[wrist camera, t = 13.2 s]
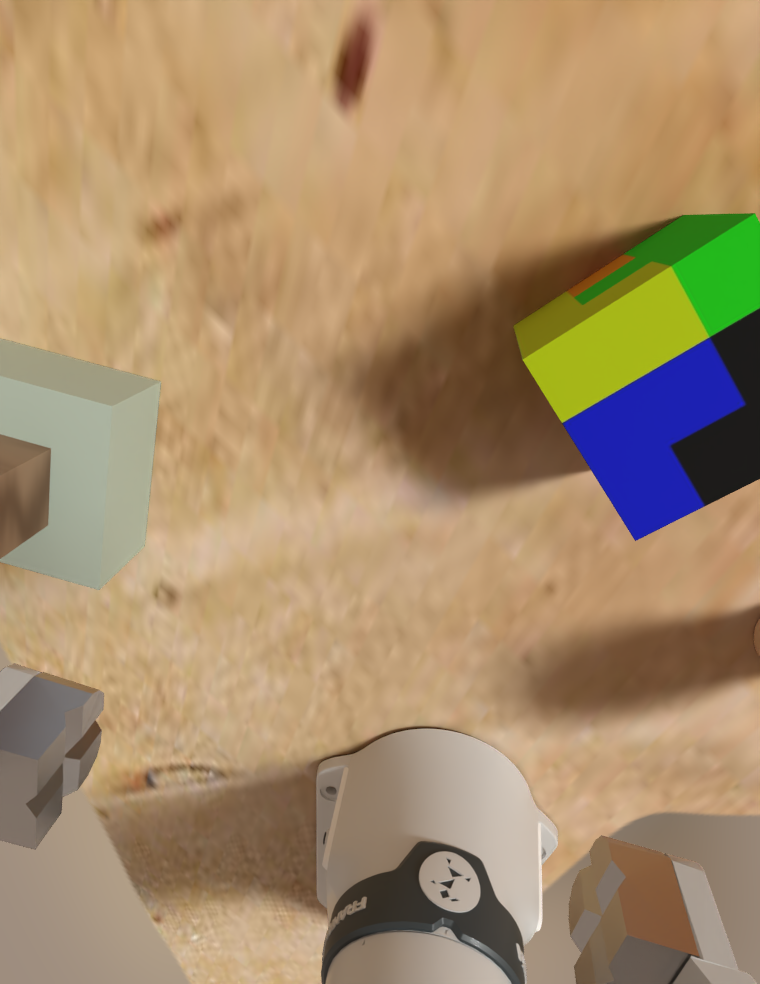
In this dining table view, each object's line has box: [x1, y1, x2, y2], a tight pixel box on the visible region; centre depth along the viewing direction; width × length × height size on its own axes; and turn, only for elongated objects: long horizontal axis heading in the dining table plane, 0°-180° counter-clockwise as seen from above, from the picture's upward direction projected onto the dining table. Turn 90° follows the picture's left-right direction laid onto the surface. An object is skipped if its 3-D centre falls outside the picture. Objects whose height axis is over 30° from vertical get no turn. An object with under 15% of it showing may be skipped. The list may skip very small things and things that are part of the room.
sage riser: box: [0, 338, 161, 590], centre depth 42 cm, size 12×12×6 cm
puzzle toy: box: [513, 213, 760, 541], centre depth 33 cm, size 10×10×10 cm
